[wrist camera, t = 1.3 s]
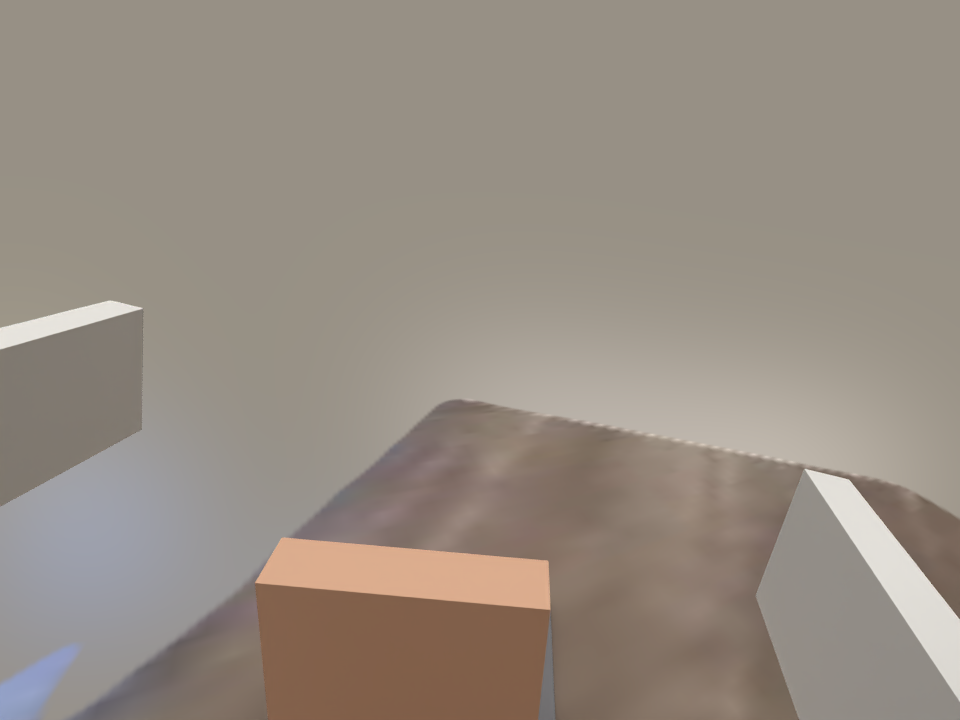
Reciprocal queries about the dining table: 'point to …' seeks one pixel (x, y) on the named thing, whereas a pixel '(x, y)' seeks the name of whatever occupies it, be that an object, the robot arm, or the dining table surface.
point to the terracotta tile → (401, 633)
